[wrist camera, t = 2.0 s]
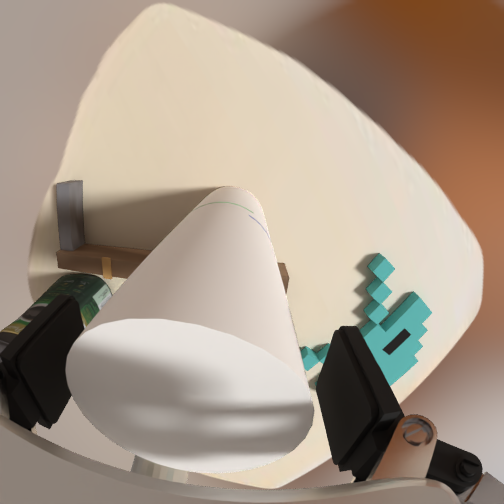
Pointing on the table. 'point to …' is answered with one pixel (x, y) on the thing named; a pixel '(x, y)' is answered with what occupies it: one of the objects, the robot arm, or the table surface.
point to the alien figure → (386, 328)
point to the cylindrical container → (198, 349)
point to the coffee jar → (78, 285)
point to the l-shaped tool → (97, 256)
